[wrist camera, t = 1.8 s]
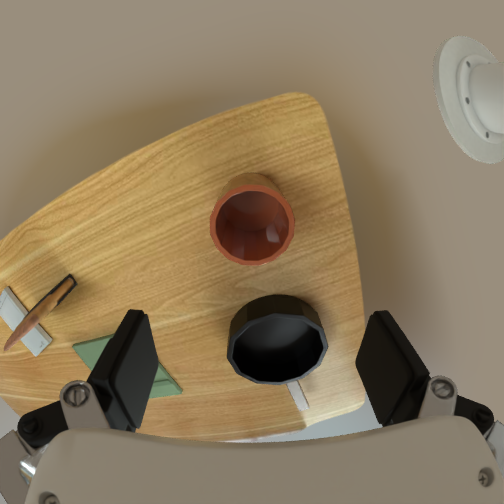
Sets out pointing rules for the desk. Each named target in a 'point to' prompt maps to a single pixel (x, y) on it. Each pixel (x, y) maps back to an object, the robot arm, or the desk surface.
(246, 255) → the cup
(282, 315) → the pan
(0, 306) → the hard drive
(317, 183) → the desk surface
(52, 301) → the ammunition clip
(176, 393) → the notepad
